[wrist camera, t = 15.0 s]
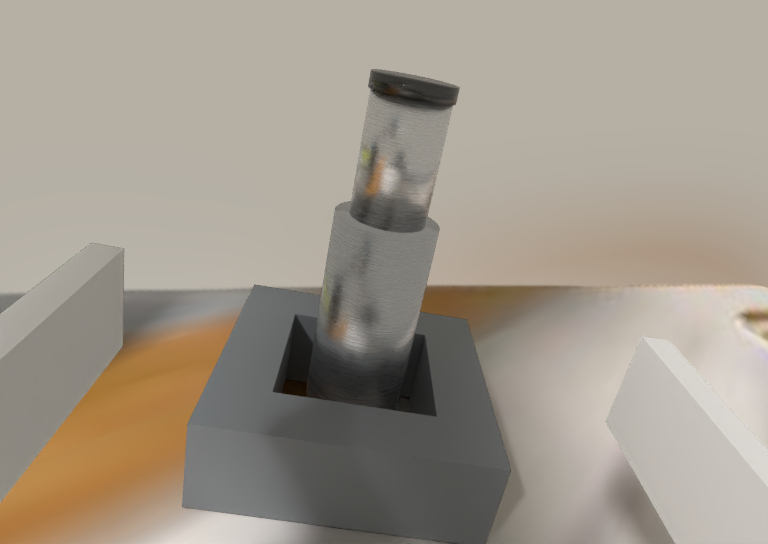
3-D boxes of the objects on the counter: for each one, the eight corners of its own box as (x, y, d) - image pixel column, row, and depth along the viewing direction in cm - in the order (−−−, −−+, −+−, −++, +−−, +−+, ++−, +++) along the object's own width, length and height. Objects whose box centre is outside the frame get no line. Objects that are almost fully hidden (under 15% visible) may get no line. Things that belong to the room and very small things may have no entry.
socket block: (181, 507, 22) (187, 423, 21) (247, 346, 33) (254, 284, 32) (484, 547, 23) (511, 470, 22) (450, 378, 34) (466, 319, 33)
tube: (294, 454, 26) (355, 71, 19) (305, 396, 30) (359, 63, 24) (390, 468, 26) (481, 96, 20) (388, 408, 30) (464, 84, 24)
